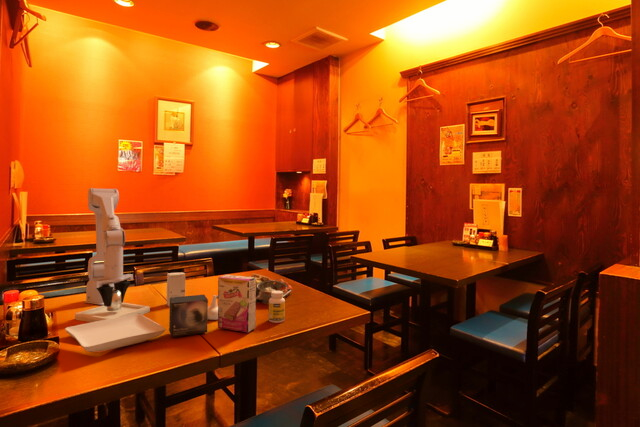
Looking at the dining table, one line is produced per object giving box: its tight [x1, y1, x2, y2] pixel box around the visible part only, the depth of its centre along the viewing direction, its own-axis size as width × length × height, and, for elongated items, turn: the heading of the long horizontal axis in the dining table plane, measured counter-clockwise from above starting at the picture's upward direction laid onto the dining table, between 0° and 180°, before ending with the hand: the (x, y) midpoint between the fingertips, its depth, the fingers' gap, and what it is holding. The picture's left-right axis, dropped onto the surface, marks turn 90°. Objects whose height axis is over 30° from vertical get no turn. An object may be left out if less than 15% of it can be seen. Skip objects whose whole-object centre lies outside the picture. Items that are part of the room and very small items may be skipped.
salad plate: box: [64, 314, 167, 353], centre depth 108 cm, size 21×21×3 cm
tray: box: [74, 302, 151, 323], centre depth 128 cm, size 16×16×2 cm
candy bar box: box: [217, 274, 257, 334], centre depth 117 cm, size 11×5×16 cm, turn 71°
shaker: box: [107, 288, 121, 311], centre depth 128 cm, size 4×4×6 cm
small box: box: [168, 294, 209, 338], centre depth 114 cm, size 11×6×10 cm, turn 117°
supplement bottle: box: [268, 291, 286, 324], centre depth 126 cm, size 5×5×10 cm
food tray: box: [216, 272, 294, 305], centre depth 152 cm, size 35×26×11 cm
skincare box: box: [166, 271, 186, 308], centre depth 142 cm, size 6×4×12 cm
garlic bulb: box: [207, 294, 218, 321], centre depth 127 cm, size 6×6×8 cm
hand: (113, 304), depth 128 cm, fingers closed on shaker, 4 cm apart
